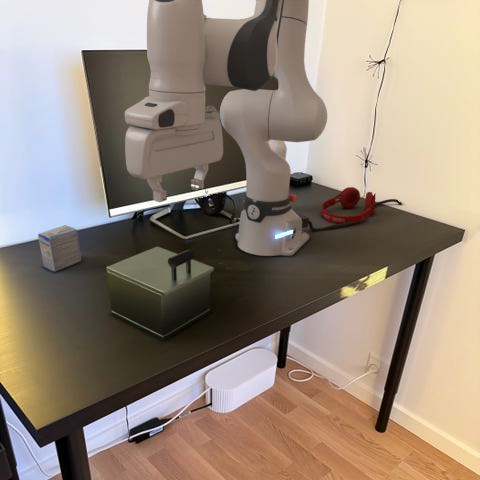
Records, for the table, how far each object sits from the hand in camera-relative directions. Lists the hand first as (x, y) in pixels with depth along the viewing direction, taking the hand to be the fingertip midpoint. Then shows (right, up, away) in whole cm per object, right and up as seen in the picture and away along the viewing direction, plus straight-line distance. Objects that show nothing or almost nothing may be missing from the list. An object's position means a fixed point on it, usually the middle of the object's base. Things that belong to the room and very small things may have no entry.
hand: (179, 195), depth 85 cm
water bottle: (+20, +13, +73) cm, 77 cm away
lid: (-5, -12, +10) cm, 17 cm away
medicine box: (-33, -9, +34) cm, 48 cm away
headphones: (+46, +12, +73) cm, 87 cm away
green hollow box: (-6, -21, +16) cm, 27 cm away
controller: (+1, +12, +69) cm, 70 cm away
